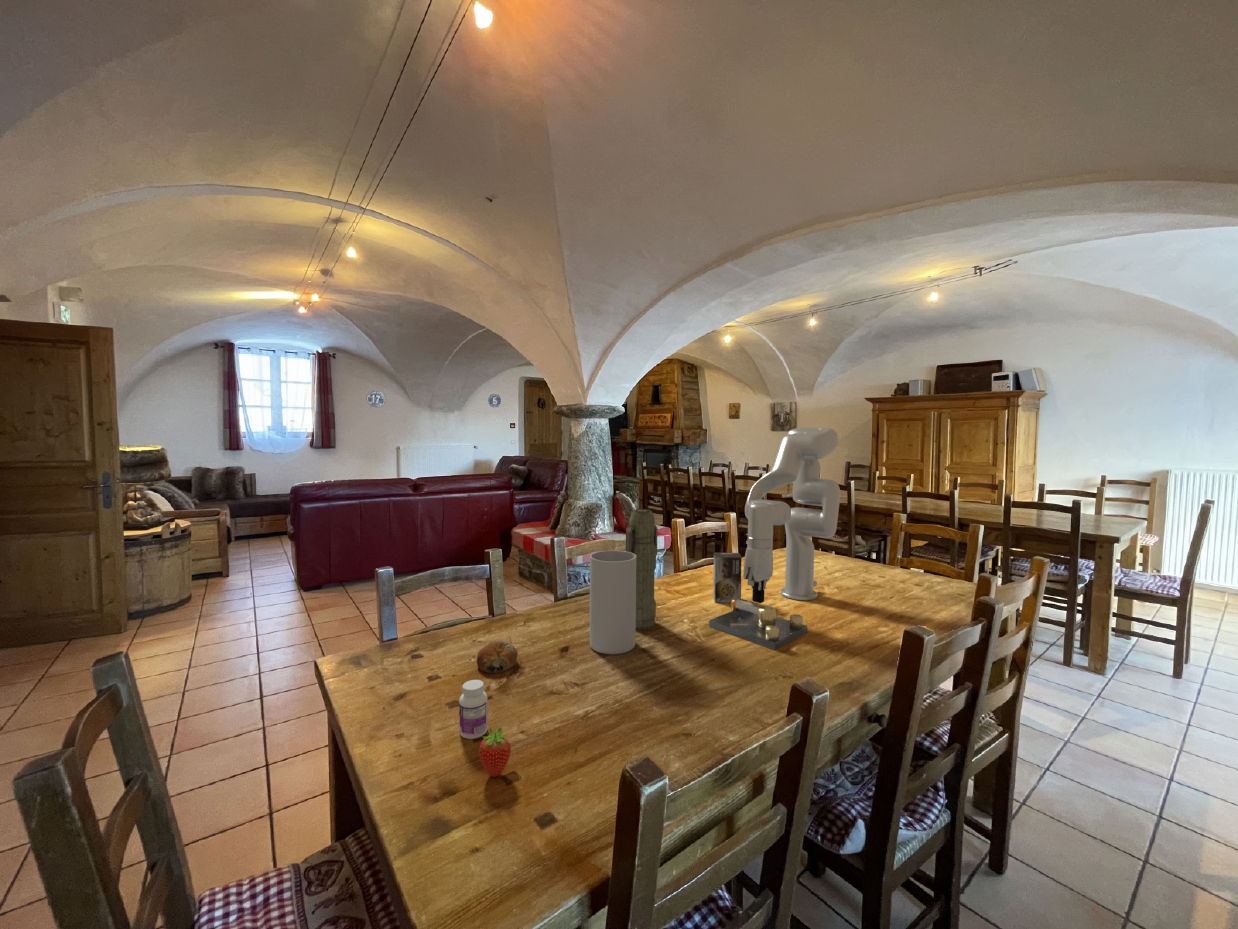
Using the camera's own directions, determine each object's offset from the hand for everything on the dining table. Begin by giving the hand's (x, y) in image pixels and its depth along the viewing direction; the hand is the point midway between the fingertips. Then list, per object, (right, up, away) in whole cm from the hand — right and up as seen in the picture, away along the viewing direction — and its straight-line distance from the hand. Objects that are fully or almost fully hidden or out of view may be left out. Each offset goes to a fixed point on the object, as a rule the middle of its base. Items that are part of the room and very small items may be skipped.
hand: (758, 601), depth 160 cm
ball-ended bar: (-3, -4, -5) cm, 8 cm away
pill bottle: (-72, -10, -59) cm, 93 cm away
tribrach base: (-2, -7, -7) cm, 10 cm away
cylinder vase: (-45, -7, -19) cm, 49 cm away
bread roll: (-74, -8, -30) cm, 80 cm away
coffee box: (-6, -5, +20) cm, 21 cm away
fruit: (-64, -11, -72) cm, 97 cm away
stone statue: (-36, -6, -3) cm, 37 cm away
